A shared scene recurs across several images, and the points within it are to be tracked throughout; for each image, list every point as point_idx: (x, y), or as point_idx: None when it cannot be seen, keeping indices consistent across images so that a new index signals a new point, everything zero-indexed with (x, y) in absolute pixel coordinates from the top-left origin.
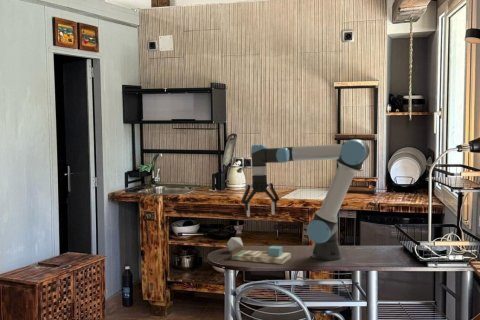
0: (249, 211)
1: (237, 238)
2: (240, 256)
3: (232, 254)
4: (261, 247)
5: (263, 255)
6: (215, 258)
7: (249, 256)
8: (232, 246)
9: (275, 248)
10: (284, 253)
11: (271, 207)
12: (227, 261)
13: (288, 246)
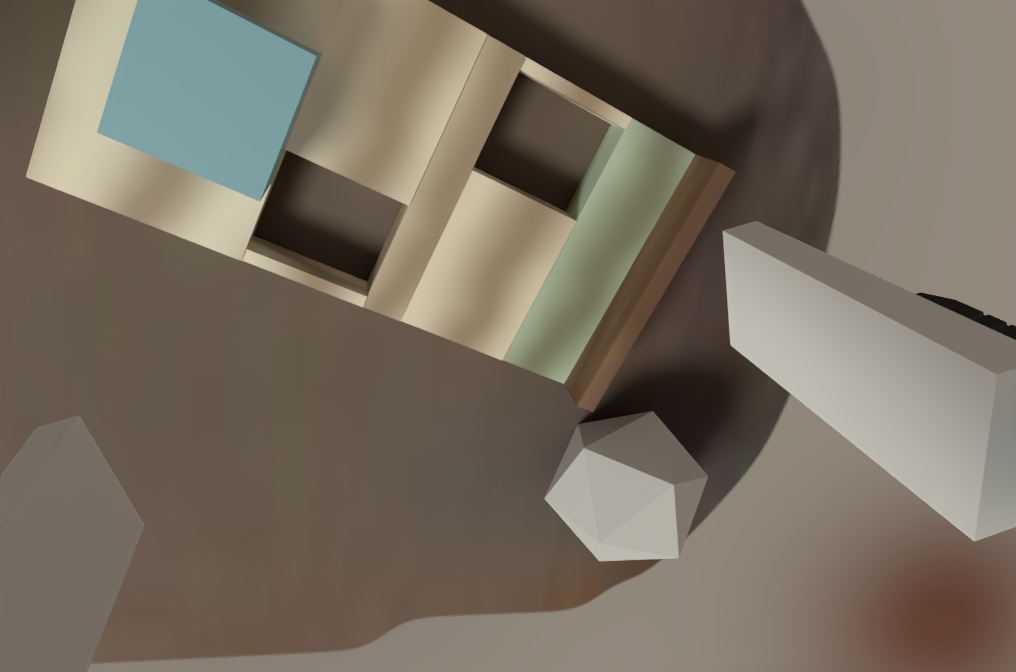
0: (812, 274)
1: (629, 515)
2: (621, 113)
3: (697, 160)
4: (365, 594)
5: (373, 92)
6: (807, 218)
7: (515, 188)
8: (659, 426)
9: (203, 9)
10: (108, 159)
11: (80, 669)
12: (732, 82)
13: (105, 637)
